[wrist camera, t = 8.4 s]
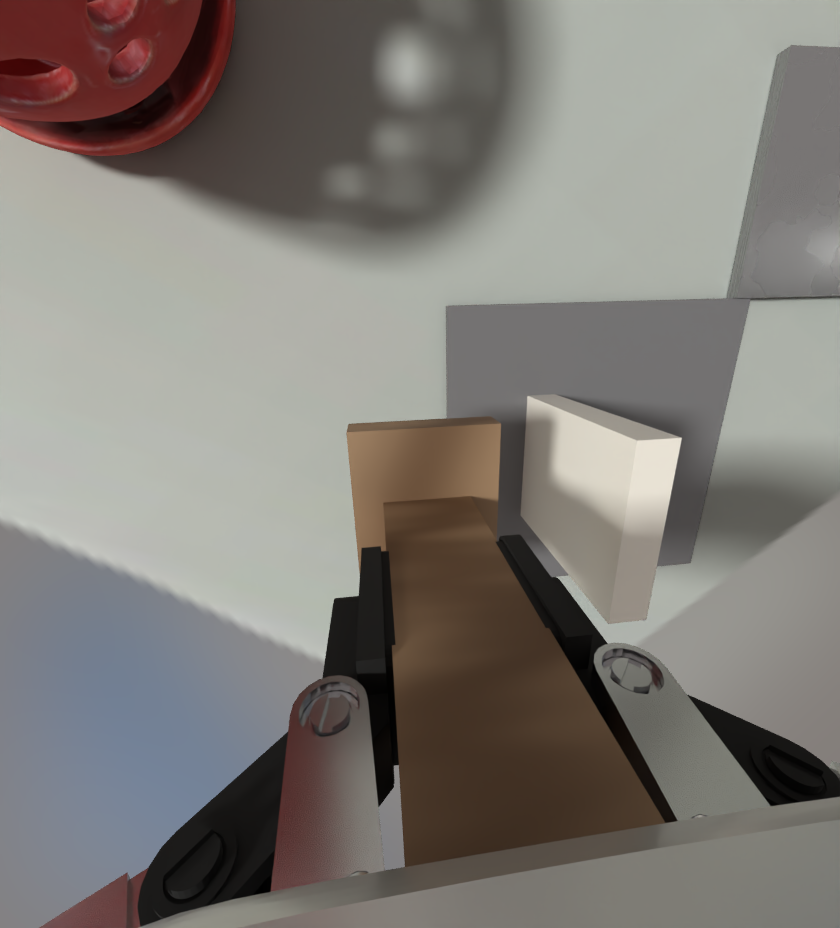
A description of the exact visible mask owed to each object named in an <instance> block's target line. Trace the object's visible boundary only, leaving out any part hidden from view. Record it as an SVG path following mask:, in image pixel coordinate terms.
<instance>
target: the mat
mask: <svg viewBox="0 0 840 928" xmlns="http://www.w3.org/2000/svg"><path fill="white" fill-rule="evenodd" d="M750 299H751V298H727V299H689V300H651V301H613V302H574V303H536V304H498V305H460V306H446V364H447V419H449V418H467V417H485V416H491V417H492V418H494V419H495V420H497V421H498V422H500V423H501V439H500V465H499V492H498V519H497V541H499V537H500V536H505V535H517V534H519V535H521V536H522V537H523V539H524V540H525V542H526V543H527V544H528V546H529V547H530V548H531V550H532V551H533V553H534V554H535V555H536V557H537V558H538V559H539V561H540V562H541V564H542V565H543V566H544V568H545V569H546V571H547V572H548V573H549V575H550V576H551V577H556V576H566V575H568V574H567V572H566V571H565V570H564V569H563V567H562V566H561V565H560V564H559V562H558V561H557V560H556V559H555V557H554V556H553V555H552V554H551V552H550V551H549V550H548V549H547V548H546V546H545V545H544V544H543V543H542V541H541V540H540V539H539V538H538V536H537V535H536V534H535V533H534V531H533V530H532V529H531V528H530V527H529V525H528V524H527V523H526V522H525V520H524V519H523V518H522V517H521V498H522V481H523V464H524V448H525V431H526V414H527V397H528V396H531V395H551V394H555V395H558V396H561V397H564V398H567V399H570V400H573V401H576V402H579V403H582V404H585V405H588V406H591V407H593V408H596V409H599V410H602V411H605V412H608V413H611V414H614V415H617V416H620V417H623V418H626V419H629V420H631V421H634V422H637V423H640V424H643V425H646V426H649V427H652V428H655V429H658V430H661V431H664V432H667V433H669V434H672V435H675V436H678V437H681V438H682V440H681V445H680V450H679V455H678V460H677V465H676V470H675V476H674V481H673V486H672V491H671V496H670V501H669V506H668V511H667V516H666V522H665V527H664V532H663V537H662V542H661V547H660V552H659V557H658V563H657V566H666V565H676V564H686V563H691V558H692V554H693V550H694V545H695V541H696V536H697V532H698V528H699V523H700V519H701V514H702V510H703V506H704V501H705V497H706V492H707V488H708V484H709V479H710V475H711V470H712V466H713V462H714V457H715V453H716V449H717V444H718V440H719V435H720V431H721V427H722V422H723V418H724V413H725V409H726V405H727V400H728V396H729V391H730V387H731V383H732V378H733V374H734V369H735V365H736V361H737V356H738V352H739V347H740V343H741V339H742V334H743V330H744V325H745V321H746V317H747V312H748V308H749V303H750Z"/></svg>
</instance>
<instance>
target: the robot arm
mask: <svg viewBox="0 0 840 928" xmlns="http://www.w3.org/2000/svg"><path fill="white" fill-rule="evenodd" d="M496 544H497V546H498V547H499V549H500V551H501V552H502V554H503V556H504V557H505V559H506V561H507V563H508V564H509V566H510V568H511V569H512V571H513V573H514V575H515V576H516V578H517V580H518V581H519V583H520V585H521V587H522V588H523V590H524V592H525V593H526V595H527V597H528V598H529V600H530V602H531V604H532V605H533V607H534V609H535V610H536V612H537V614H538V616H539V617H540V619H541V621H542V622H543V624H544V626H545V628H549V629H550V630H551V632H552V634H553V635H554V637H555V639H556V641H557V642H558V644H559V646H560V647H561V649H562V651H563V652H564V654H565V656H566V657H567V659H568V661H569V662H570V664H571V666H572V667H573V669H574V671H575V672H576V674H577V676H578V677H579V679H580V681H581V682H582V684H583V686H584V687H585V689H586V691H587V692H588V694H589V696H590V697H591V699H592V701H593V702H594V704H595V706H596V707H597V709H598V711H599V713H600V714H601V716H602V718H603V719H604V721H605V723H606V724H607V726H608V728H609V729H610V731H611V733H612V734H613V736H614V738H615V739H616V741H617V743H618V744H619V746H620V748H621V749H622V751H623V753H624V754H625V756H626V758H627V759H628V761H629V763H630V764H631V766H632V768H633V769H634V771H635V773H636V774H637V776H638V778H639V780H640V781H641V783H642V785H643V786H644V788H645V790H646V791H647V793H648V795H649V796H650V798H651V800H652V801H653V803H654V805H655V806H656V808H657V810H658V811H659V813H660V815H661V816H662V818H663V820H664V821H665V823H664V824H657V825H651V826H645V827H639V828H633V829H627V830H621V831H615V832H609V833H603V834H597V835H591V836H585V837H579V838H573V839H567V840H561V841H555V842H549V843H543V844H537V845H531V846H525V847H519V848H513V849H507V850H501V851H495V852H489V853H484V854H478V855H472V856H466V857H461V858H455V859H449V860H443V861H438V862H432V863H426V864H420V865H415V866H409V867H403V868H398V869H392V870H386V871H385V868H384V858H383V848H382V838H381V829H380V818H379V806H380V805H381V803H382V802H383V801H384V799H385V798H386V797H387V795H388V794H389V793H390V791H391V790H392V789H393V787H394V765H399V758H398V741H397V724H396V707H395V691H394V674H393V657H392V645H396V644H395V630H394V616H393V602H392V589H391V575H390V561H389V551H381V546H377V547H366V548H362V549H361V567H360V586H359V596H355V597H344V598H335V599H334V603H333V610H332V617H331V624H330V630H329V637H328V644H327V651H326V658H325V665H324V672H323V678H322V679H319V680H317V681H316V682H314V683H312V684H311V685H309V686H308V687H307V688H306V689H305V690H303V691H302V692H301V693H300V694H299V696H298V698H297V699H296V701H295V702H294V704H293V707H292V711H291V714H290V720H289V730H288V732H287V733H286V734H285V735H284V736H283V737H282V738H280V740H278V741H277V742H276V743H275V744H274V745H273V746H271V747H270V748H269V749H268V750H267V751H266V752H265V753H264V754H263V755H261V756H260V757H259V758H258V759H257V760H256V761H255V762H254V763H252V764H251V765H250V766H249V767H248V768H247V769H246V770H245V771H244V772H243V773H241V774H240V775H239V776H238V777H237V778H236V779H235V780H234V781H232V782H231V783H230V784H229V785H228V786H227V787H226V788H225V789H224V790H222V791H221V792H220V793H219V794H218V795H217V796H216V797H215V798H213V799H212V800H211V801H210V802H209V803H208V804H207V805H206V806H204V807H203V808H202V809H201V810H200V811H199V812H198V813H197V814H195V815H194V816H193V817H192V818H191V819H190V820H189V821H188V822H187V823H185V824H184V825H183V826H182V827H181V828H180V829H179V830H178V831H176V833H175V834H174V835H173V836H172V837H171V838H170V839H169V840H168V841H167V842H166V843H165V844H164V845H163V846H162V848H161V849H160V851H159V852H158V854H157V855H156V857H155V858H154V860H153V862H152V863H151V864H150V866H149V868H147V869H146V870H144V871H142V872H141V873H139V874H138V875H136V876H135V877H133V878H131V879H130V877H129V875H128V873H126V874H124V875H123V876H121V877H119V878H118V879H116V880H115V881H113V882H111V883H110V884H109V885H107V886H105V887H103V888H102V889H100V890H99V891H97V892H95V893H94V894H92V895H91V896H89V897H87V898H86V899H84V900H83V901H81V902H79V903H78V904H76V905H75V906H73V907H71V908H70V909H68V910H67V911H65V912H63V913H62V914H60V915H59V916H57V917H56V918H54V919H52V920H51V921H49V922H48V923H46V924H44V925H43V926H41V927H40V928H840V763H836V762H832V763H831V765H830V767H828V766H826V764H825V763H823V762H822V761H821V760H820V759H819V758H817V757H816V756H814V755H813V754H812V753H810V752H808V751H807V750H806V749H804V748H803V747H801V746H799V745H797V744H795V743H793V742H791V741H790V740H788V739H785V738H783V737H781V736H779V735H776V734H774V733H772V732H770V731H768V730H765V729H763V728H761V727H758V726H756V725H754V724H752V723H750V722H747V721H745V720H743V719H741V718H739V717H736V716H734V715H732V714H730V713H727V712H725V711H723V710H721V709H718V708H716V707H714V706H712V705H710V704H707V703H705V702H703V701H700V700H698V699H696V698H694V697H691V696H689V695H687V694H686V693H685V692H684V690H683V689H682V687H681V686H680V685H679V684H678V683H677V681H676V680H675V678H674V677H673V676H672V674H671V673H670V672H669V670H668V669H667V668H666V667H665V666H664V665H663V664H662V663H661V661H660V660H659V659H657V658H656V657H654V656H653V655H652V654H650V653H649V652H646V651H645V650H643V649H641V648H638V647H636V646H632V645H629V644H624V643H610V644H607V642H606V641H605V640H604V638H603V637H602V636H601V634H600V633H599V632H598V630H597V629H596V628H595V626H594V625H593V624H592V622H591V621H590V620H589V618H588V617H587V616H586V614H585V613H584V612H583V610H582V609H581V608H580V606H579V605H578V604H577V602H576V601H575V600H574V598H573V597H572V596H571V594H570V593H569V592H568V590H567V589H566V588H565V586H564V585H563V584H562V582H561V581H560V580H559V579H558V578H556V577H551V576H550V575H549V573H548V572H547V571H546V569H545V568H544V566H543V565H542V564H541V562H540V561H539V559H538V558H537V557H536V555H535V554H534V553H533V551H532V550H531V548H530V547H529V546H528V544H527V543H526V542H525V540H524V539H523V537H522V536H521V535H519V534H517V535H505V536H500V537H499V541H497V542H496Z"/></svg>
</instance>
